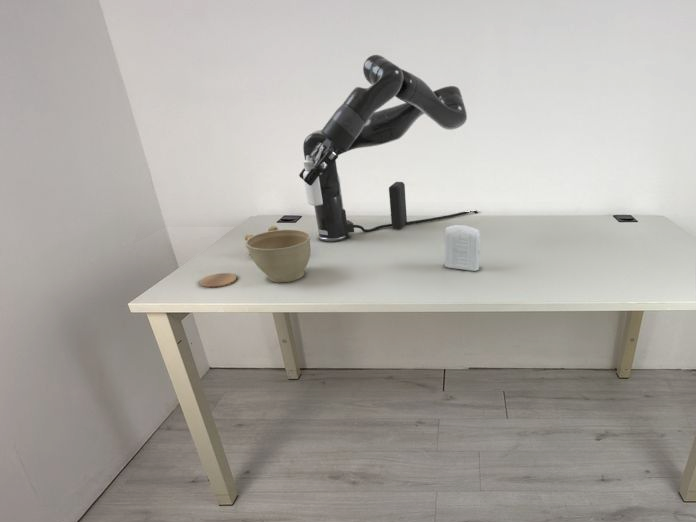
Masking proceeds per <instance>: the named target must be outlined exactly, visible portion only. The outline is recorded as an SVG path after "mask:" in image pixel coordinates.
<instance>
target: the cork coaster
mask: <svg viewBox="0 0 696 522" xmlns="http://www.w3.org/2000/svg"><path fill="white" fill-rule="evenodd" d="M236 281H237V276H236V275H235V274H232V273H216V274H211V275H208V276H206V277H204V278H202V279H201V280H200V281H199V284H200V286H201V287H204V288H211V289H213V288H222V287H225V286H228V285H231V284H233V283H234V282H236Z"/></svg>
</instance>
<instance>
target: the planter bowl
mask: <svg viewBox="0 0 696 522" xmlns="http://www.w3.org/2000/svg"><path fill="white" fill-rule="evenodd" d="M245 243H246V244H245V245H247V247H248V248H247V247H246V248H247V250H248V252H250V255H251V256H250V257H251V259H252V261H253V263H254V264H255V265H256V267H257V268H258V269H259V270H260V271H261V272H262V273H264V274H265V275H266V276H267V278H268V280H269V281H271V282H274V283H289V282H294V281H297V280H300V279H301V278H302V277H303V276H305V270H306V268H307V266H308V264H309V261H310V257H311V250H312V249H311V235H310V234H309V233H308V232H306V231H304V230H300V229H279V230H276V231H270V232H268V231H266V232H261V233H258V234H254V235H253V236H252V237H251V238H249V239H248V240H247V241H246V240H245Z"/></svg>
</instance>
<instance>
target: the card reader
mask: <svg viewBox="0 0 696 522" xmlns="http://www.w3.org/2000/svg"><path fill="white" fill-rule="evenodd" d="M405 186H406V184H405V182H403V181H395V182H394V183H392V184H391V185H390V186H389V187H388V195H389V196H388V197H389V207H390V208H389V209H390V221H391V223H390V224H392V229H393V230H402V229H403V228H404V226H406V225H405V222H408V218H407V203H406V202H407V201H406V187H405Z"/></svg>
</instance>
